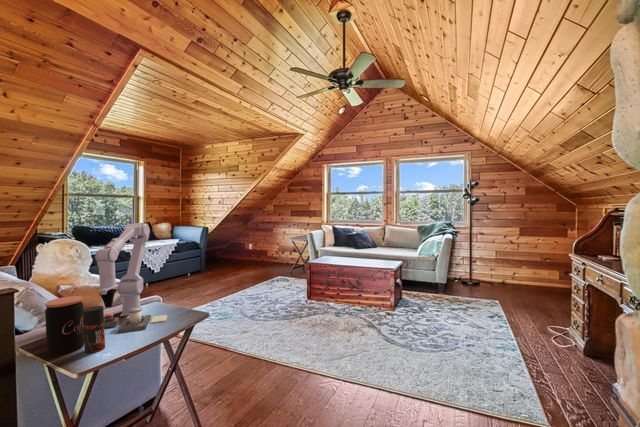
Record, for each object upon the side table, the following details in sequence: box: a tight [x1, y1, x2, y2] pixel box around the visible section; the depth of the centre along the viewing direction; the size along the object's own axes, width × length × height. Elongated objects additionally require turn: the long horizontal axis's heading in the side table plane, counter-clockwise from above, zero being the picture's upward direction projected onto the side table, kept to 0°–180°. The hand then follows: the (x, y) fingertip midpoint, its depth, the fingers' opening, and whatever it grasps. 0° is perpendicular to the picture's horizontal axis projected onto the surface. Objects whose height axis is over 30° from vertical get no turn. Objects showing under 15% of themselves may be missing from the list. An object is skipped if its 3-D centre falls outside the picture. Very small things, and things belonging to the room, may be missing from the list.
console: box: [104, 316, 120, 329], centre depth 133 cm, size 5×6×2 cm
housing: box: [117, 314, 152, 334], centre depth 134 cm, size 14×10×2 cm
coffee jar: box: [44, 295, 85, 356], centre depth 112 cm, size 11×11×18 cm
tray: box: [150, 314, 168, 324], centre depth 140 cm, size 8×6×1 cm
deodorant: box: [83, 305, 106, 354], centre depth 111 cm, size 6×6×15 cm
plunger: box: [104, 312, 115, 322], centre depth 133 cm, size 3×3×3 cm
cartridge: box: [128, 306, 142, 325], centre depth 133 cm, size 5×5×7 cm
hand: (108, 307), depth 133 cm, fingers closed
